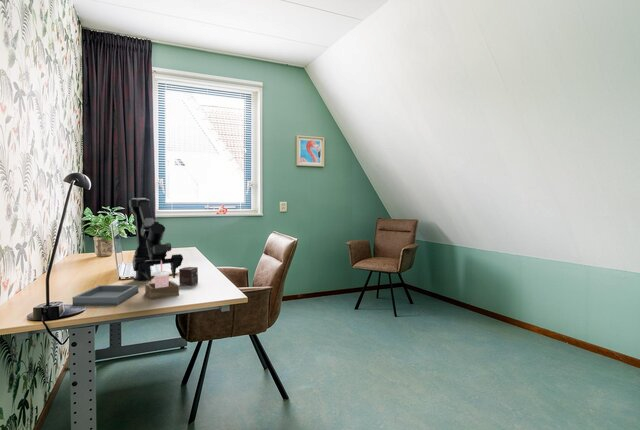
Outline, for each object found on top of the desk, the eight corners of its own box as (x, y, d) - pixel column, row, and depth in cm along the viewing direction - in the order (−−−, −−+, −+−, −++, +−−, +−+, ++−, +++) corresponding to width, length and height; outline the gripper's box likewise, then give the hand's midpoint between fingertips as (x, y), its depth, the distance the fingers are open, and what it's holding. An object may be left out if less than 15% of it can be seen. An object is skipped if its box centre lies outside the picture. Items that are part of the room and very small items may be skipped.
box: (191, 286, 171) (191, 269, 171) (179, 285, 173) (178, 269, 172) (198, 282, 177) (198, 267, 177) (186, 282, 179) (186, 266, 178)
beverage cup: (162, 291, 162) (162, 258, 161) (173, 293, 159) (172, 260, 158) (150, 295, 156) (149, 261, 155) (161, 297, 153) (160, 262, 152)
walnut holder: (145, 293, 159) (145, 284, 158) (171, 289, 165) (171, 280, 164) (151, 299, 150) (151, 289, 150) (178, 295, 156) (178, 285, 156)
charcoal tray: (99, 292, 160) (99, 285, 160) (138, 292, 160) (138, 285, 160) (72, 305, 142) (72, 297, 142) (116, 305, 142) (116, 297, 142)
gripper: (133, 238, 153) (140, 270, 145) (181, 235, 165) (190, 265, 157) (130, 255, 160) (136, 286, 152) (176, 251, 171) (184, 280, 163)
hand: (162, 279), depth 156 cm, fingers open, 9 cm apart
